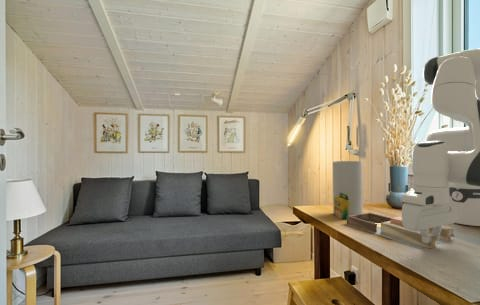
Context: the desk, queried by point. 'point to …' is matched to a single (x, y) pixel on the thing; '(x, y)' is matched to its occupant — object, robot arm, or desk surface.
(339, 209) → the crayon box
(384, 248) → the desk surface
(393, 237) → the board
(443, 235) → the plain stick
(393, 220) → the cube
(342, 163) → the cylinder vase
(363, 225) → the cubby
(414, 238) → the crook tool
